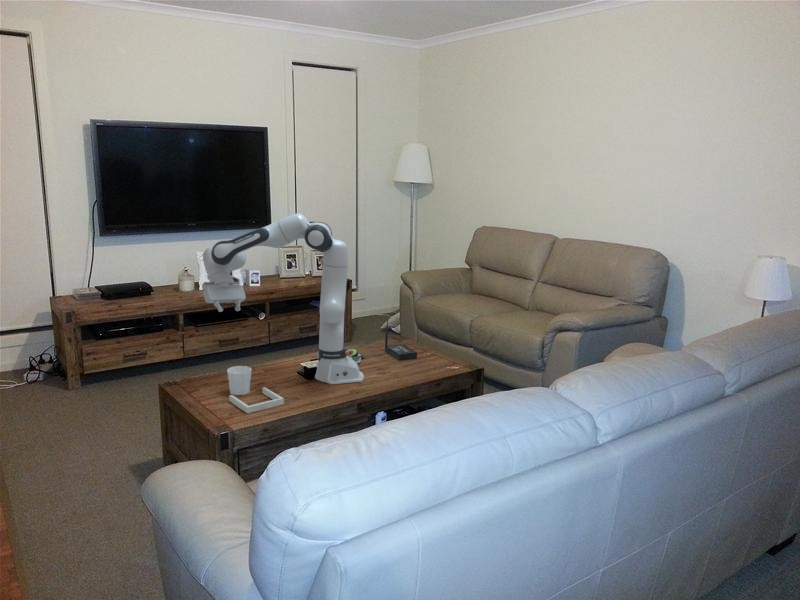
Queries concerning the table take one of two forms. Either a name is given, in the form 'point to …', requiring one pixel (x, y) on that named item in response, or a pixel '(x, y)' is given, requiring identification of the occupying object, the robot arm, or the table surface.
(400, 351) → the wifi router
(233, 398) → the white u-shaped frame
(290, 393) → the table surface
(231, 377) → the cup
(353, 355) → the salad plate
